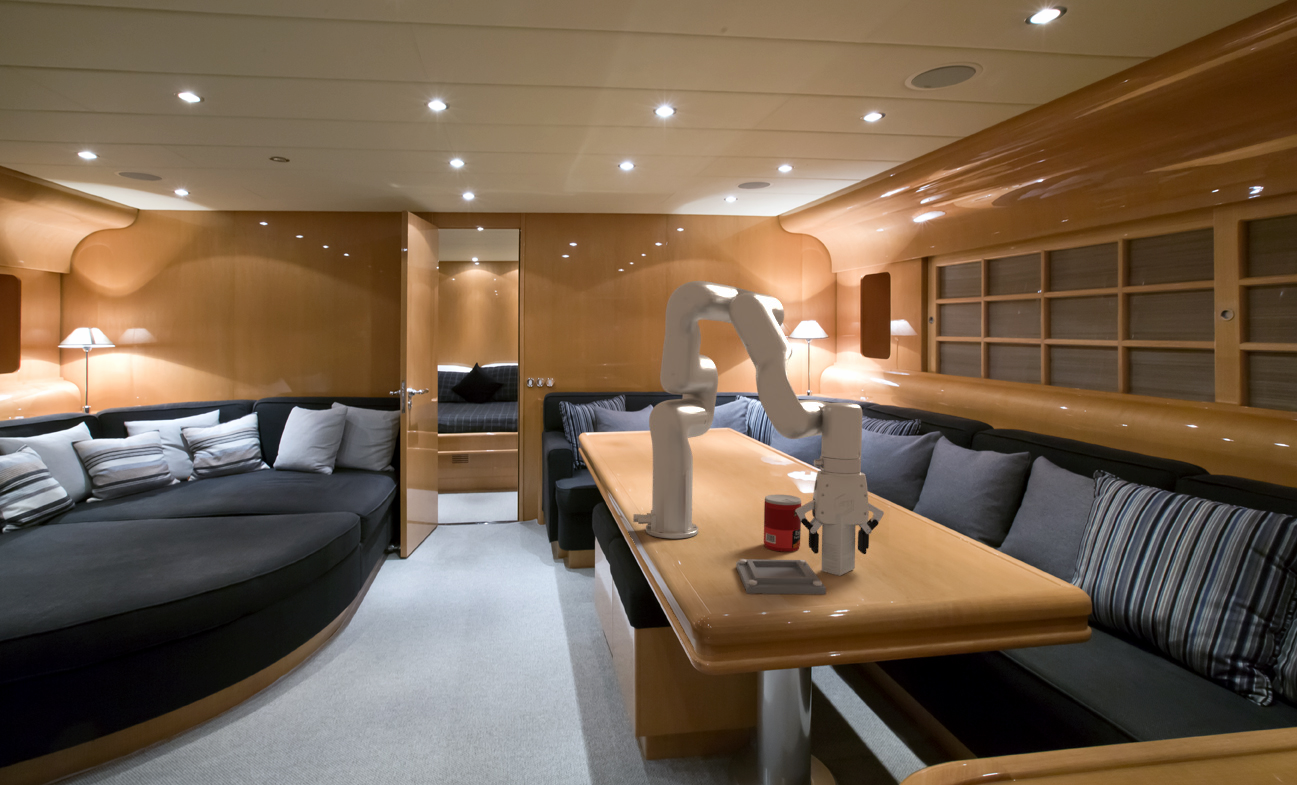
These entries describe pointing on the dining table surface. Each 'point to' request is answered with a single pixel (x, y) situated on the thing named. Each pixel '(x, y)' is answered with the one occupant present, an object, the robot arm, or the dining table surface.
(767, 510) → the canned food
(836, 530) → the skincare box
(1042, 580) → the dining table surface
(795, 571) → the plate
